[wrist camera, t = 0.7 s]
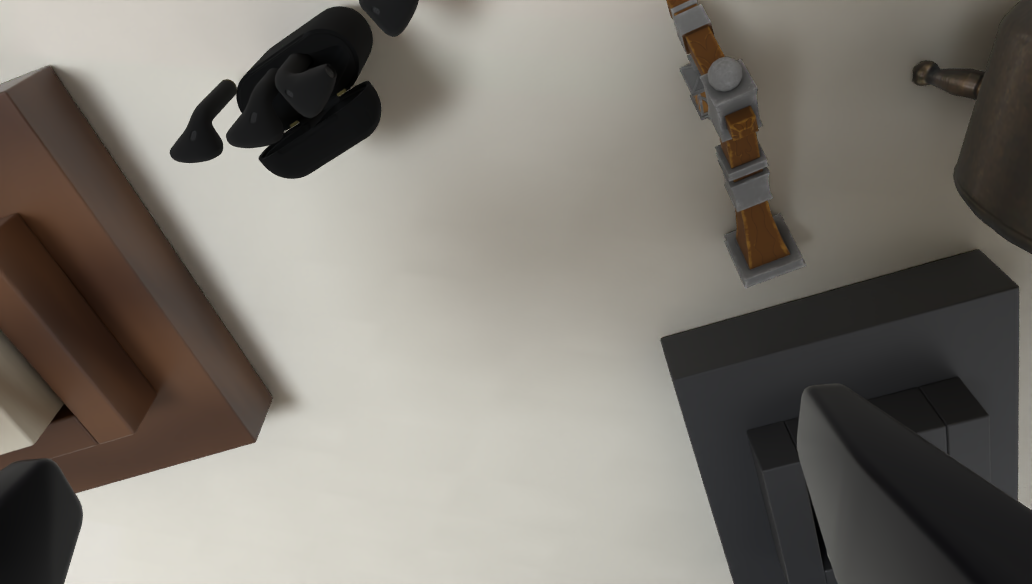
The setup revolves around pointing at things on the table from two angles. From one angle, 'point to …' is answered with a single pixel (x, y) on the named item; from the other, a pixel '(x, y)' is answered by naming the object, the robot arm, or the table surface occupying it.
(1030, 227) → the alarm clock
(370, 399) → the table surface
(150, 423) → the key block
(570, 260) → the table surface
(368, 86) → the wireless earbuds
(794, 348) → the key block
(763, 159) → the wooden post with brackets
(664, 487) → the table surface
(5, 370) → the key
